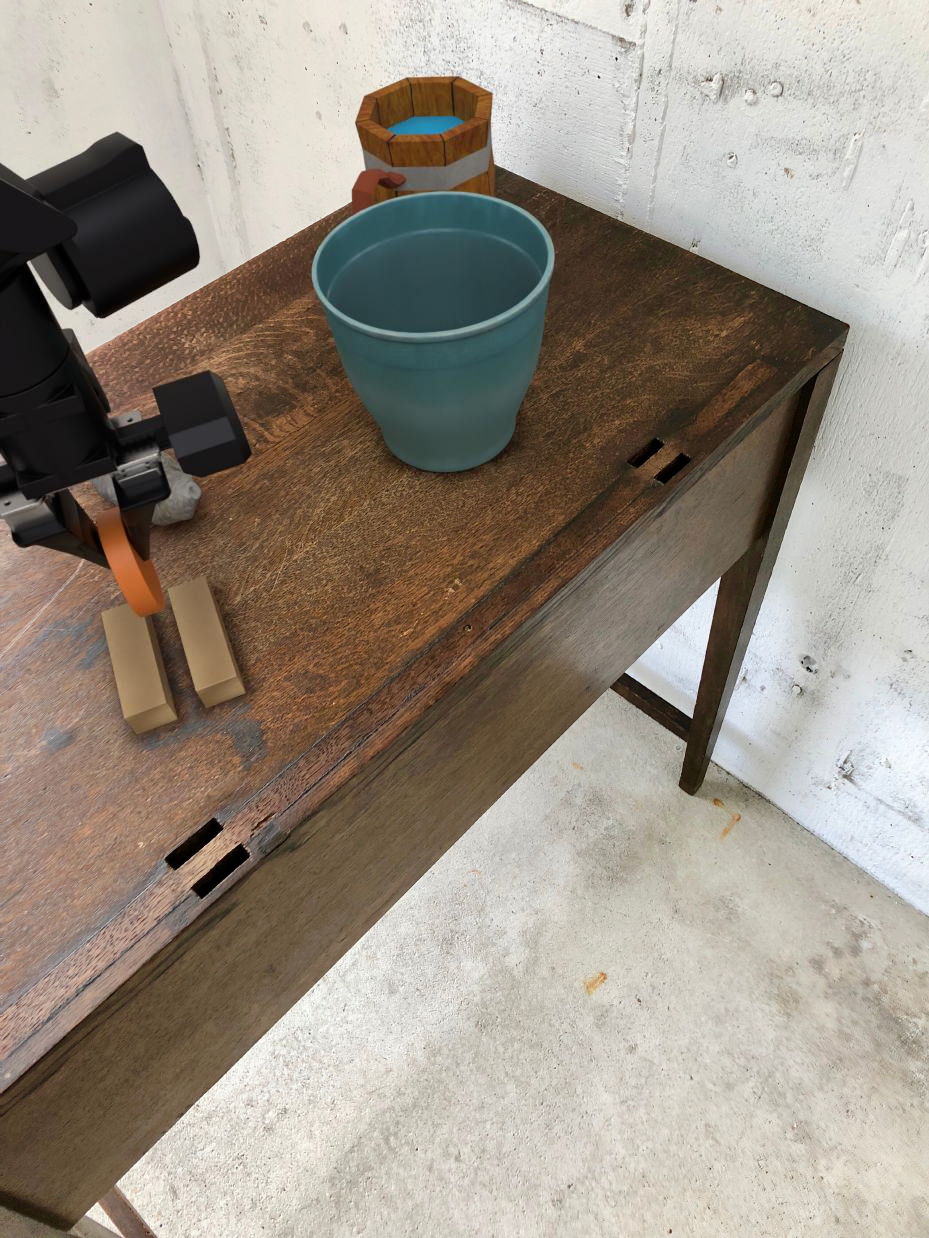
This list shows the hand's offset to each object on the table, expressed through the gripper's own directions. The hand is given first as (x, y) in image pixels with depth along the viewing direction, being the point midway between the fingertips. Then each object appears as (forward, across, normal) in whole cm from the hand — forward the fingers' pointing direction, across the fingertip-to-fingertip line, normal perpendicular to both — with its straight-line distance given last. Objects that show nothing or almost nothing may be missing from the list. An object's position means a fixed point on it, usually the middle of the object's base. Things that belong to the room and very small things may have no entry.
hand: (131, 560), depth 55 cm
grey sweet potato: (+13, 0, -19) cm, 23 cm away
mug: (+13, -34, -39) cm, 53 cm away
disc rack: (+12, +1, -1) cm, 13 cm away
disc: (+4, 0, 0) cm, 4 cm away
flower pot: (+13, -27, -15) cm, 33 cm away
